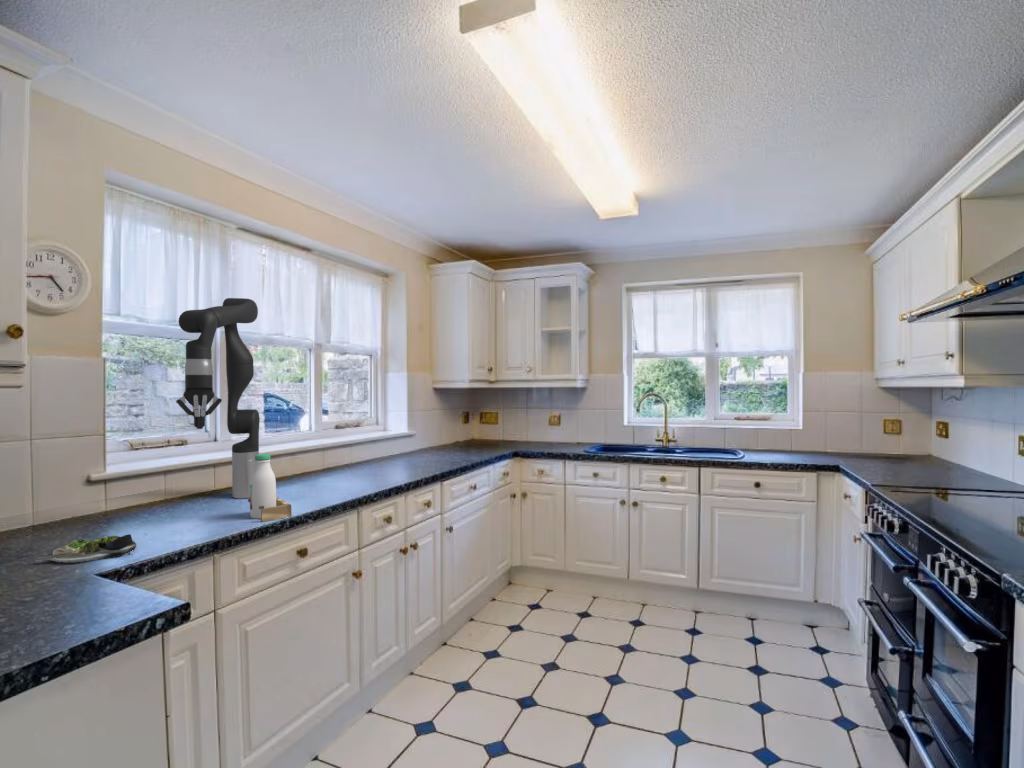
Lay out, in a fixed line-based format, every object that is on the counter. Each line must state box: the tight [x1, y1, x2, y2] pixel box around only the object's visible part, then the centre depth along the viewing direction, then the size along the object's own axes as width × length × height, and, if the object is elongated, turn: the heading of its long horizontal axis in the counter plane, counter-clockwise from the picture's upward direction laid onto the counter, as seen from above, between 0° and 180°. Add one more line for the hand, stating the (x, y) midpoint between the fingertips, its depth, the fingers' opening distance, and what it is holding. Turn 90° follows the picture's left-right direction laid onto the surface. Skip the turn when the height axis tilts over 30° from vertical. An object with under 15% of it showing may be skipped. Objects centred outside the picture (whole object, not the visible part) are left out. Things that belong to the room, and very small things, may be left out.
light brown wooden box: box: [247, 497, 292, 523], centre depth 174 cm, size 15×9×5 cm, turn 39°
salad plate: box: [37, 533, 137, 564], centre depth 136 cm, size 19×18×5 cm
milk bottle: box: [249, 453, 277, 520], centre depth 174 cm, size 8×8×20 cm
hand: (199, 428), depth 169 cm, fingers closed
